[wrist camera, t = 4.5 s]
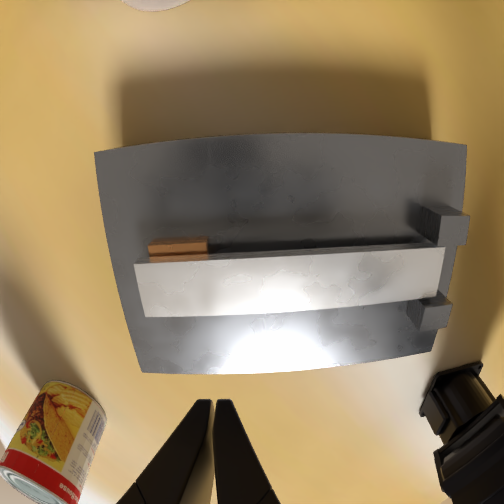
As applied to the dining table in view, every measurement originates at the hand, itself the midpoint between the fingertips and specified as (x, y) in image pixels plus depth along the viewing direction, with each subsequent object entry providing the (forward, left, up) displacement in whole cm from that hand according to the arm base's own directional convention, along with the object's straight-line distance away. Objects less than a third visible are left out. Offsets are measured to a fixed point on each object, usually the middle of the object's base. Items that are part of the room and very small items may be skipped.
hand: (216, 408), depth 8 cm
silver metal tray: (-4, 0, -13) cm, 13 cm away
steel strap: (-4, 0, -8) cm, 9 cm away
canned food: (+18, +17, -13) cm, 28 cm away
